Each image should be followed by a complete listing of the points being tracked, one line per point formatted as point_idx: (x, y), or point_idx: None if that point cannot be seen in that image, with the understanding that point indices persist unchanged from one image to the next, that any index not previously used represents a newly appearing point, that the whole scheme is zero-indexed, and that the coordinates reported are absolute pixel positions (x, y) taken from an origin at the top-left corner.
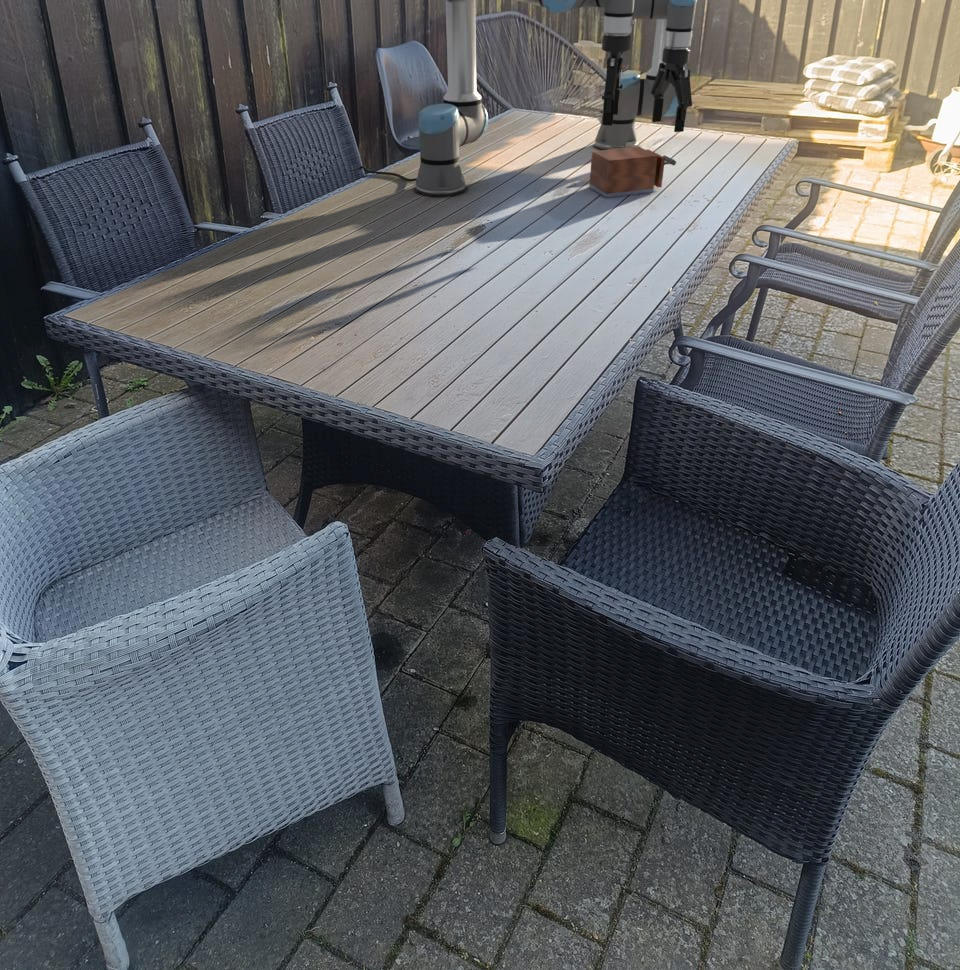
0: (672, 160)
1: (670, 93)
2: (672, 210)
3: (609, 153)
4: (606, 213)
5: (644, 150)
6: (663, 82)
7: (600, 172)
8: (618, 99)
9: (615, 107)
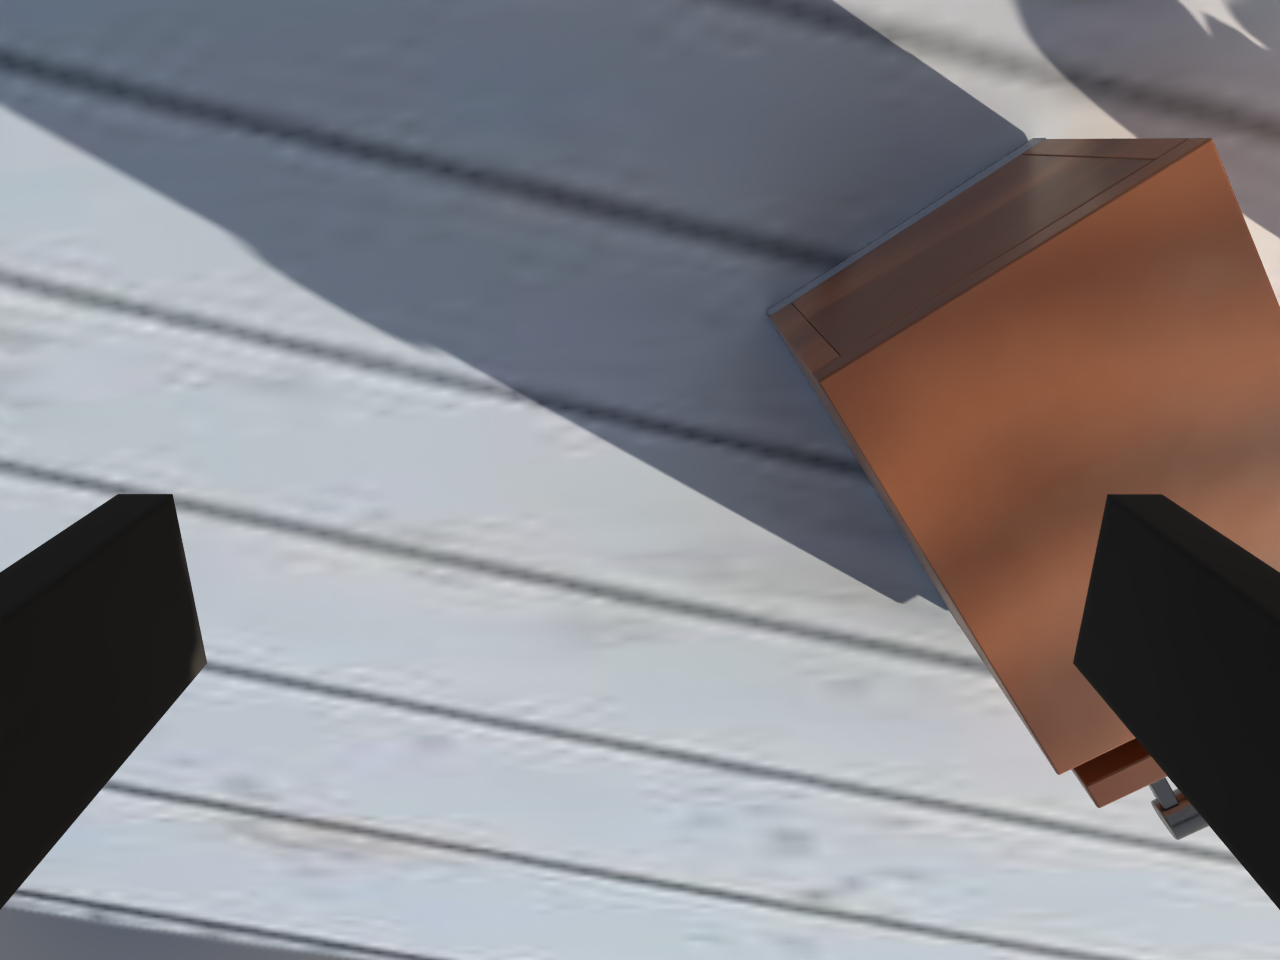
0: (1179, 821)
1: None
2: (583, 736)
3: (1111, 352)
4: (393, 357)
5: None
6: None
7: (922, 261)
8: (1247, 867)
9: (1152, 695)
